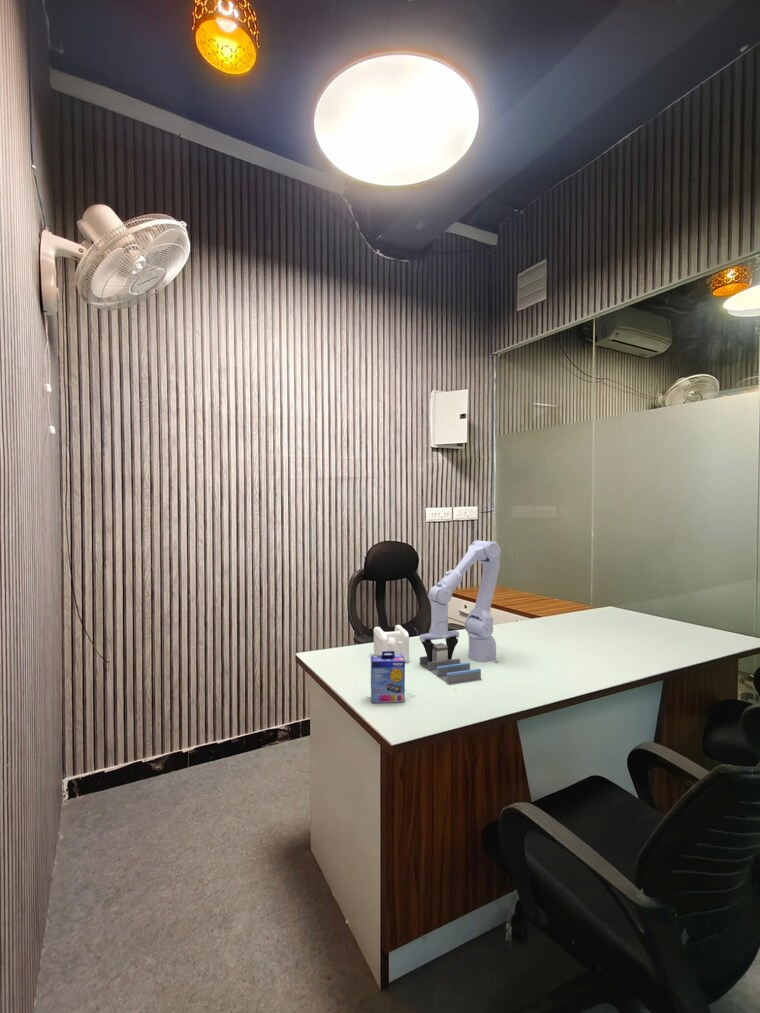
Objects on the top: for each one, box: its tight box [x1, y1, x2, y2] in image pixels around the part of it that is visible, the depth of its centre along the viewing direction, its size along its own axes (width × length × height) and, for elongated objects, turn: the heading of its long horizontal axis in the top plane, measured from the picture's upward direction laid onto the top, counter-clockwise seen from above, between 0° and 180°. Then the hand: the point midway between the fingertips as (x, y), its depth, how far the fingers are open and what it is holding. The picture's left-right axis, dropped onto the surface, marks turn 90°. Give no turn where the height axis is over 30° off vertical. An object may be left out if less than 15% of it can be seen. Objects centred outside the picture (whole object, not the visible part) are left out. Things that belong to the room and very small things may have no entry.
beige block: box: [432, 642, 448, 662], centre depth 159 cm, size 4×4×7 cm
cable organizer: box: [372, 624, 410, 663], centre depth 167 cm, size 15×11×12 cm
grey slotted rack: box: [418, 655, 483, 686], centre depth 153 cm, size 12×22×4 cm, turn 21°
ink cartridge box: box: [370, 651, 406, 704], centre depth 132 cm, size 10×6×14 cm, turn 95°
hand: (439, 659), depth 159 cm, fingers open, 7 cm apart
